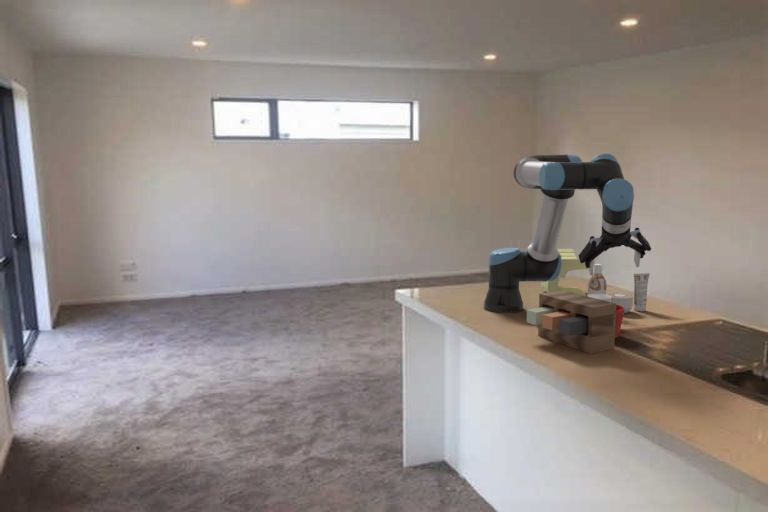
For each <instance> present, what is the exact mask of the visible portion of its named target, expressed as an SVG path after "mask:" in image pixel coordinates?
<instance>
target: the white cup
mask: <svg viewBox="0 0 768 512" xmlns="http://www.w3.org/2000/svg"><path fill="white" fill-rule="evenodd" d="M586 296H587V297H591V298H595V299H600V300H604V301H608V302H611V296H609V295H607V294H606V295H605V294H589V295H588V294H586Z"/></svg>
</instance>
